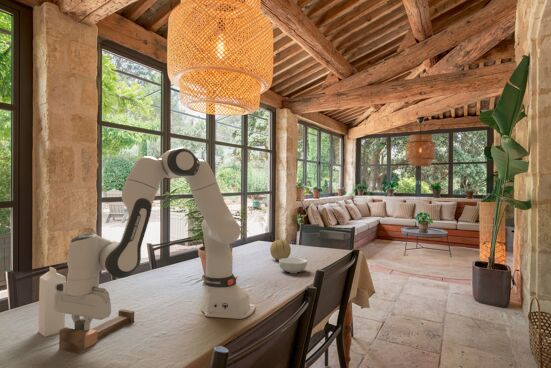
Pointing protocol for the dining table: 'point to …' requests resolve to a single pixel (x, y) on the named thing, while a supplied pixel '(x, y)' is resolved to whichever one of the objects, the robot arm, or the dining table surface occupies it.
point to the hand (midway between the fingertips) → (82, 328)
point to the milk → (49, 304)
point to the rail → (76, 338)
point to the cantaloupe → (280, 249)
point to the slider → (87, 333)
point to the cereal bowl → (292, 264)
